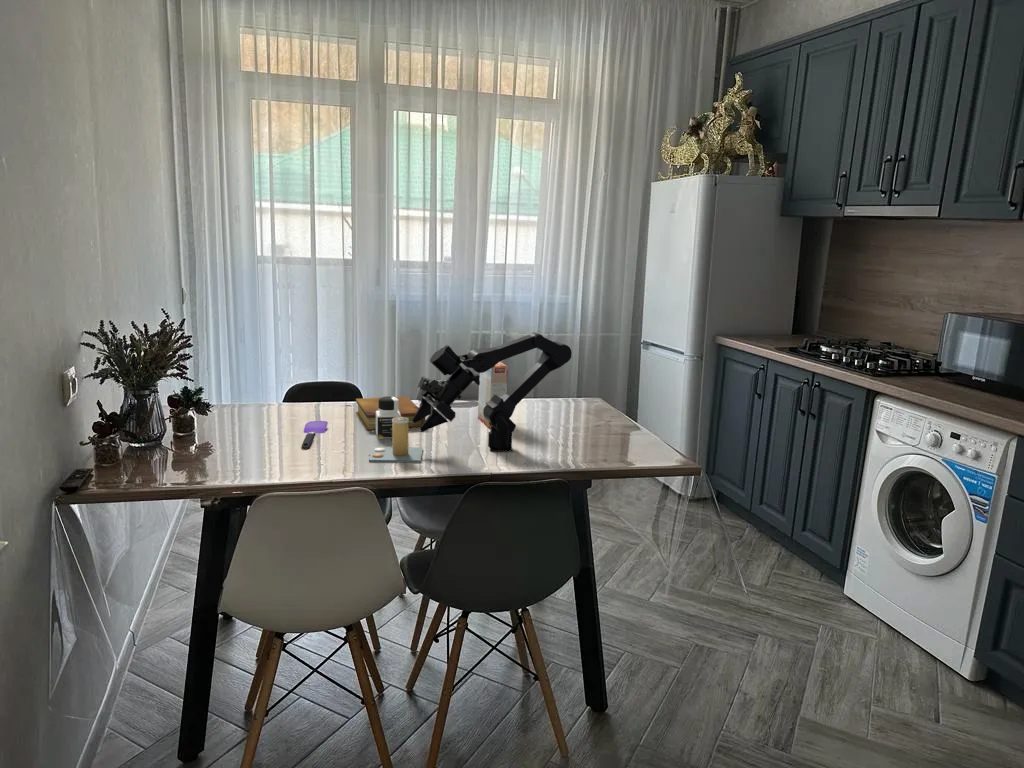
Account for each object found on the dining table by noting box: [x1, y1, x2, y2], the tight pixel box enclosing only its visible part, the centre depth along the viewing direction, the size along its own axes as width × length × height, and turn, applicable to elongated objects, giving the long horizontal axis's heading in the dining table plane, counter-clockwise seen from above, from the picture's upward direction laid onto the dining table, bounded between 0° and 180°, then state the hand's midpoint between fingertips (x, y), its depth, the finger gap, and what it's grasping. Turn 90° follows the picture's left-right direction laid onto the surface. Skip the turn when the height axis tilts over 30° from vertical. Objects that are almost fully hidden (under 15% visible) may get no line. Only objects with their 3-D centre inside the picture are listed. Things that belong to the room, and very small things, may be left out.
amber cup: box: [391, 417, 409, 456], centre depth 196 cm, size 5×5×10 cm
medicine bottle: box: [375, 396, 401, 440], centre depth 215 cm, size 7×7×12 cm
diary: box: [355, 396, 427, 432], centre depth 233 cm, size 23×19×6 cm
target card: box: [368, 446, 423, 464], centre depth 197 cm, size 14×12×1 cm
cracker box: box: [477, 361, 509, 429], centre depth 234 cm, size 14×6×21 cm, turn 18°
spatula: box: [300, 420, 329, 450], centre depth 210 cm, size 24×7×2 cm, turn 7°
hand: (417, 426), depth 197 cm, fingers open, 9 cm apart
